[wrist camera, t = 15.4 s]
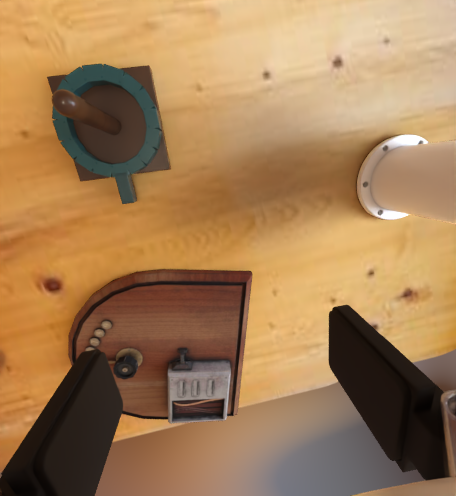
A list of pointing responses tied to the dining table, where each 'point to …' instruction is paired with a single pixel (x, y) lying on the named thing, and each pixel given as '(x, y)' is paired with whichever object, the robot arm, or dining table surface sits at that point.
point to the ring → (67, 134)
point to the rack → (110, 122)
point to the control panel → (170, 341)
